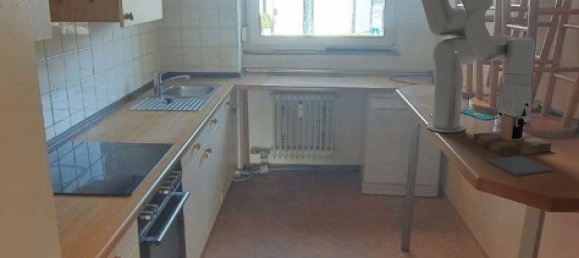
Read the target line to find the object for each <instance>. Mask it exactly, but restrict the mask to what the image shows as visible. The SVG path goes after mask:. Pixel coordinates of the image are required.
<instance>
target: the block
mask: <svg viewBox="0 0 579 258" xmlns="http://www.w3.org/2000/svg"><path fill="white" fill-rule="evenodd" d="M520 120H521V118H519V121H520ZM513 126H515V118H514V117H511V116H508V115H505V114H502V121H500V131H501V132H500V138H502V139H504V140H506V141H509V142H513V141H521V140H522V138H519V139H513V138H512V133H513ZM523 132H524V131H523ZM523 132H522V134H523Z"/></svg>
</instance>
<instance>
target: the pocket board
mask: <svg viewBox="0 0 579 258" xmlns="http://www.w3.org/2000/svg"><path fill="white" fill-rule="evenodd" d="M500 132H501V130H496V131H487V132H478V133H473V138H472V142H474V143H476V144H477V145H480V146H482V147H485V148H487V149H489V150H491V151H493V152H495V153H498V154H499V155H502V156H503V157H512V156H520V155H527V154H528V155H530V154H536V153H544V152H550V151H551V149H552V148H551V147H552V142H549V141H547V140H545V139H542V138H539V137H536V136H534V135H531V134H529V133H527V132H524V131H523V134H522V140H521V141H513V142H509V141H506V140H504V139H502V138H500Z"/></svg>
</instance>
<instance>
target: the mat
mask: <svg viewBox="0 0 579 258" xmlns="http://www.w3.org/2000/svg"><path fill="white" fill-rule="evenodd" d="M486 161H487V162H486V163H488V164H491V165H493V166H495V167H497V168H498V169H500V170H502V171H505V172H507V173H509V174H510V175H512V176H515V177H521V176H526V175H533V174H534V175H535V174H540V173H541V174H543V173H548V172H553V170H554V169H553V167H549V166H547V165H545V164H542V163H540V162H538V161H536V160H534V159H531V158H530V157H526V156H524V154H522V155H514V156H504V157H499V158H498V157H497V158H491V159H487V160H486Z"/></svg>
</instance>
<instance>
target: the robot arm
mask: <svg viewBox="0 0 579 258" xmlns="http://www.w3.org/2000/svg"><path fill="white" fill-rule="evenodd" d="M460 1H461V3H462V5H463V6H462V7H464V8H461V7H452V6H451V4H450V1H449V0H421V4H422V7H423V11H424V15H425V17H426V20H427V24H428V28H429V30H430V32H431V34H432V35H434V37H440V38H442V37H451V38H447V39H443V40H441V41H439V42H438V43H437V44H436V45H435V46H434V49H433V51H432V52H433V53H432V57H433V66H434V79H433V80H434V82H433V83H434V84H433V85H434V87H433V100H432V104H433V105H432V113H429V114H428V117H429V118H431V121H430V122H428V123H427V126H426V127H427V129H429V130H430V131H433V132H438V133H442V134H443V133H444V134H448V133H449V134H454V133H460V132H463V131H464V130H465V125H464V124H463V123H461V114H462V113H461V110H462V103H463V102H462V101H463V89H464V75H463V71H462V67H461V66H464V65H469V64H473V63H475V62H476V61H477V60H480V61H483V62H490V61H491V62H492V61H496V60H497V61H499V60H505V67H504V75H503V81H502V82H501V85H500V88H499V92H498V98H497V104H496V110H497V112H498V113H499V117H500V122H502V114H505V115H508V116H511V117H514V118H515V126H513V133H512V138H513V139H519V138H522V132H524V127H525V126H526V124H527V123H529V122H531V121H532V119H533V118H532V116H531V108H532V85H531V83H532V75H533V66H534V65H533V64H534V58H535V48H536V41H535V39H533V38H531V37H524V36H523V37H521V36H520V37H519V36H518V37H516V36H513V35H508V34H496V35H491V34H490V32H489V30H488V28H487V25H486V20H485V19H486V18H485V17H486V13H487V11H488V10H489V9H491V8H492V6H493V4H494V0H460ZM519 118H521V120H520V121H519Z"/></svg>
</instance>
